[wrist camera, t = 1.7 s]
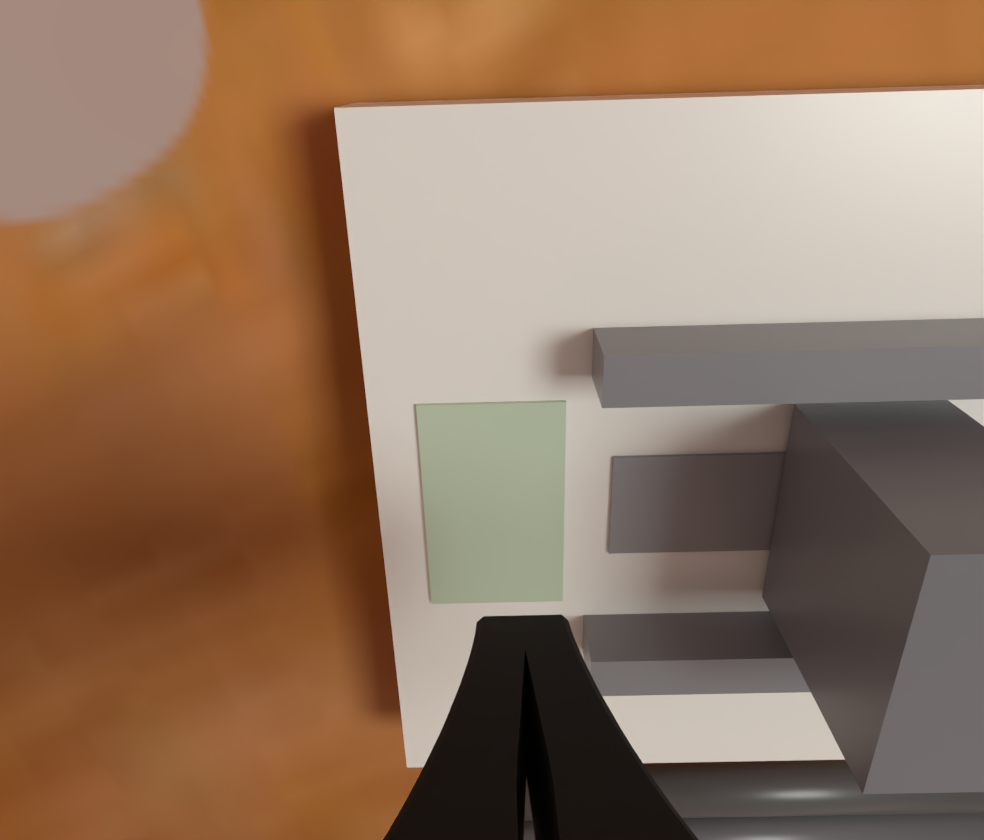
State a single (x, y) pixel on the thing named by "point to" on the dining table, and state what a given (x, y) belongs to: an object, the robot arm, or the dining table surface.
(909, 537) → the switch knob
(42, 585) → the dining table surface
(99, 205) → the dining table surface
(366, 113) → the white board with rails
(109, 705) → the dining table surface
